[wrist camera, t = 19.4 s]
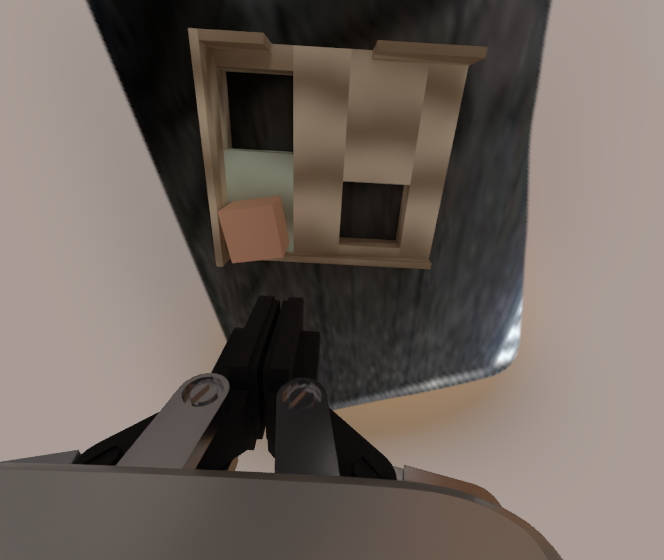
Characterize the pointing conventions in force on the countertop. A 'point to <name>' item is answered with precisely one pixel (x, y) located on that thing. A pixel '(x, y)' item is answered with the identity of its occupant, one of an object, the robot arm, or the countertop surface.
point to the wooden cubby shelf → (336, 138)
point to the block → (255, 229)
